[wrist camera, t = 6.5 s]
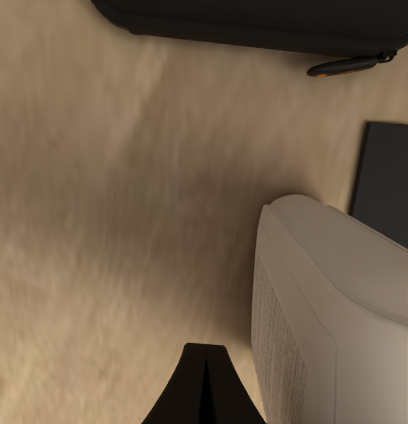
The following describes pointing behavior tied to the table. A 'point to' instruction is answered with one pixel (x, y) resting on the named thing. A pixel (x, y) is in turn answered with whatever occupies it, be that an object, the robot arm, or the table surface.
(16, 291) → the table surface
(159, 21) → the carrying case
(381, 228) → the desk pad
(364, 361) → the photo printer
